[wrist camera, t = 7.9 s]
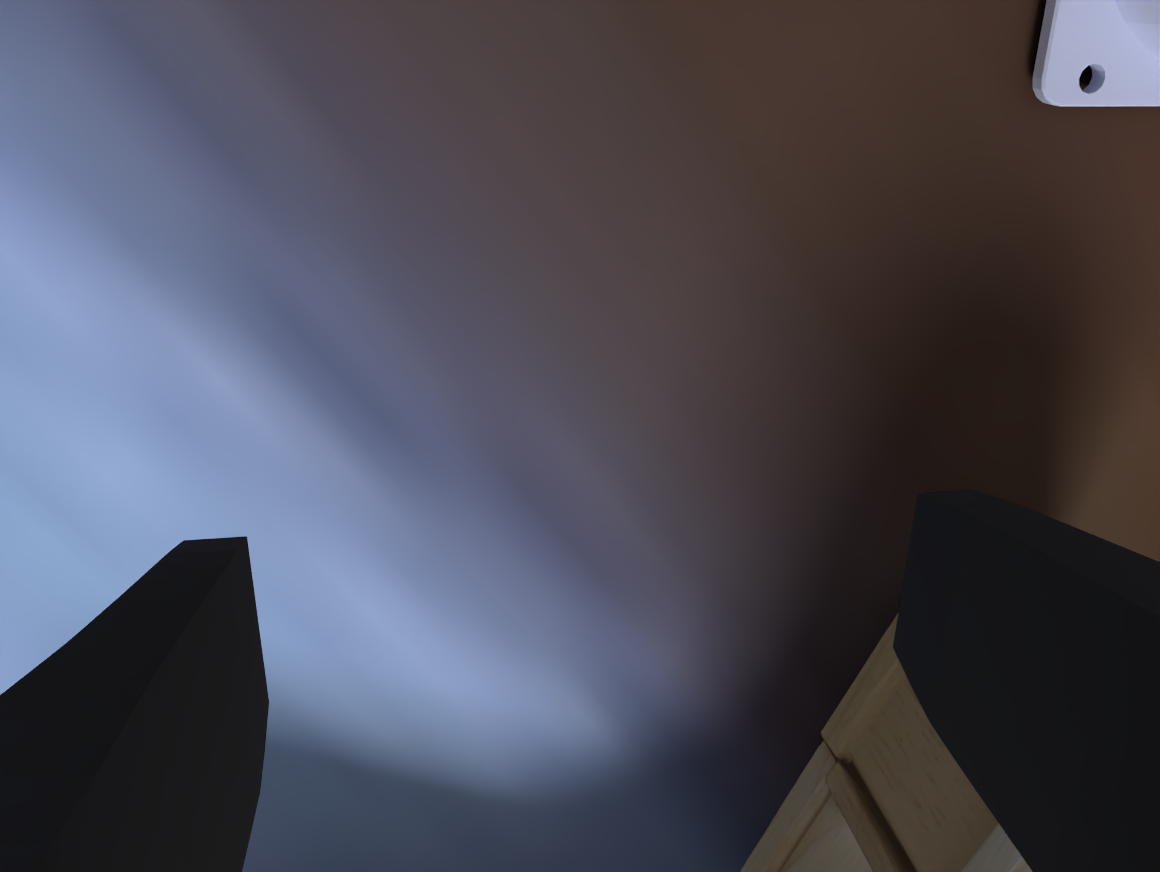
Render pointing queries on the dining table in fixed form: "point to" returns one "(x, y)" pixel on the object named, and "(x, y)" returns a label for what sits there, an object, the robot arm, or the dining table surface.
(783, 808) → the toy kitchen set
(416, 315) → the dining table surface
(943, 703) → the robot arm
